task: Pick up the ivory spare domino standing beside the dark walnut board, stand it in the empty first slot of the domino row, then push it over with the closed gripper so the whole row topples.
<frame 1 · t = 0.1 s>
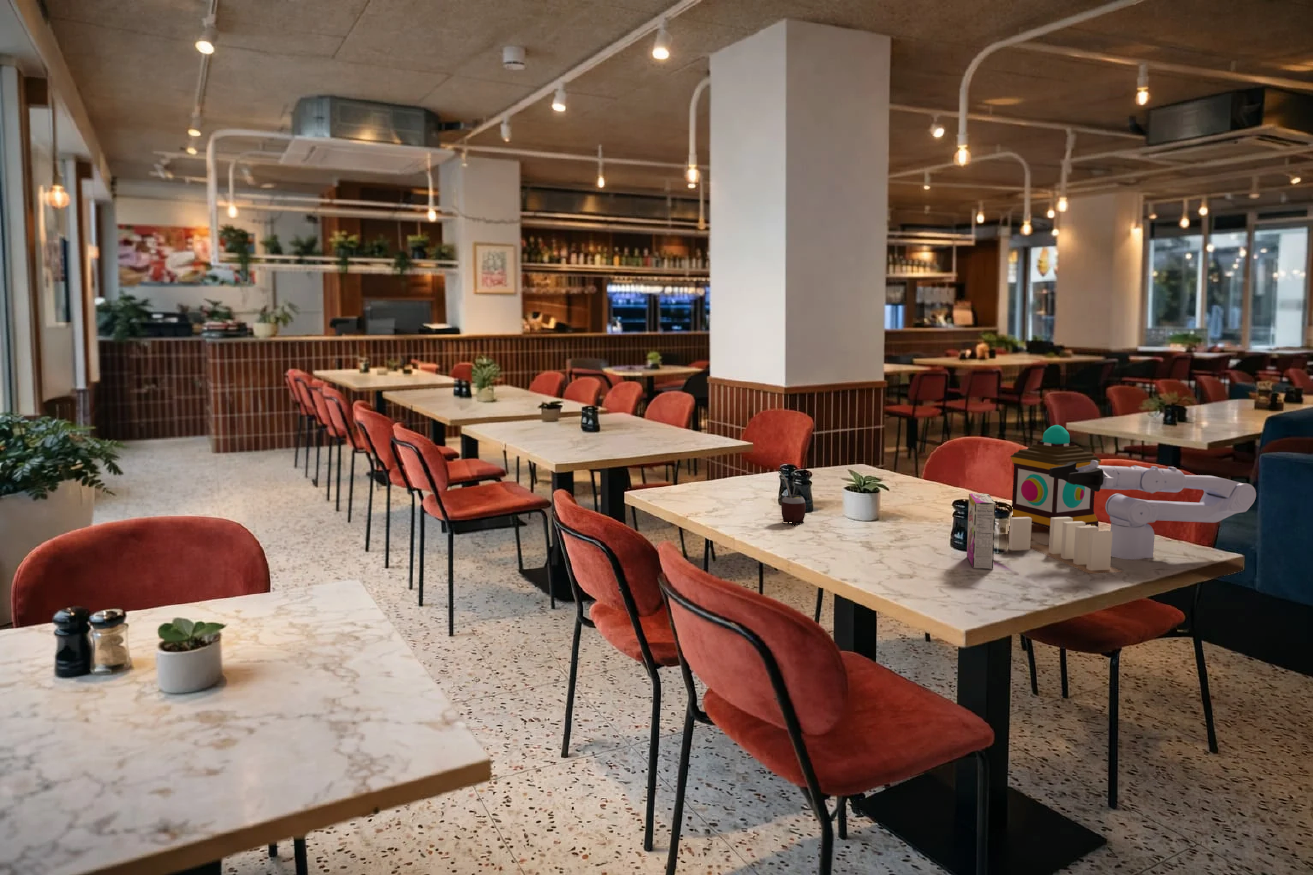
hand: (1059, 475, 215), 22 cm above the table, tool horizontal, fingers open, 7 cm apart
walnut board: (1071, 561, 218), on the table
decorative lantern: (1050, 530, 251), on the table
mate gourd: (791, 523, 260), on the table
domino b: (1059, 552, 223), point 1 cm above the table, touching walnut board
domino c: (1071, 557, 218), point 1 cm above the table, touching walnut board
domino d: (1084, 563, 213), point 1 cm above the table, touching walnut board
spare domino: (1019, 552, 227), on the table
candy bar box: (979, 564, 217), on the table
domino e: (1098, 569, 209), point 1 cm above the table, touching walnut board
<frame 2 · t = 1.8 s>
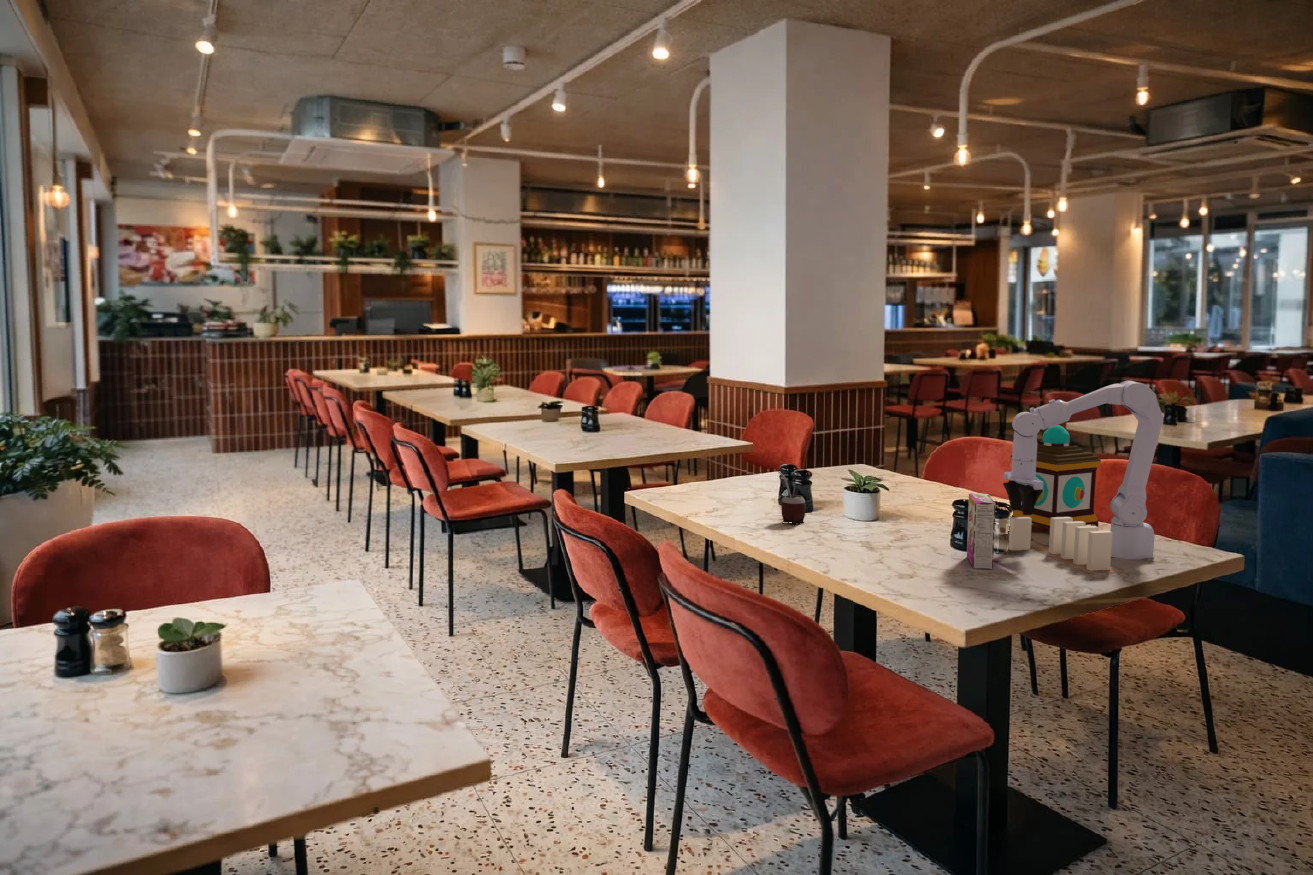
hand: (1021, 512, 226), 10 cm above the table, tool pointing down, fingers open, 5 cm apart
nothing on the table moved.
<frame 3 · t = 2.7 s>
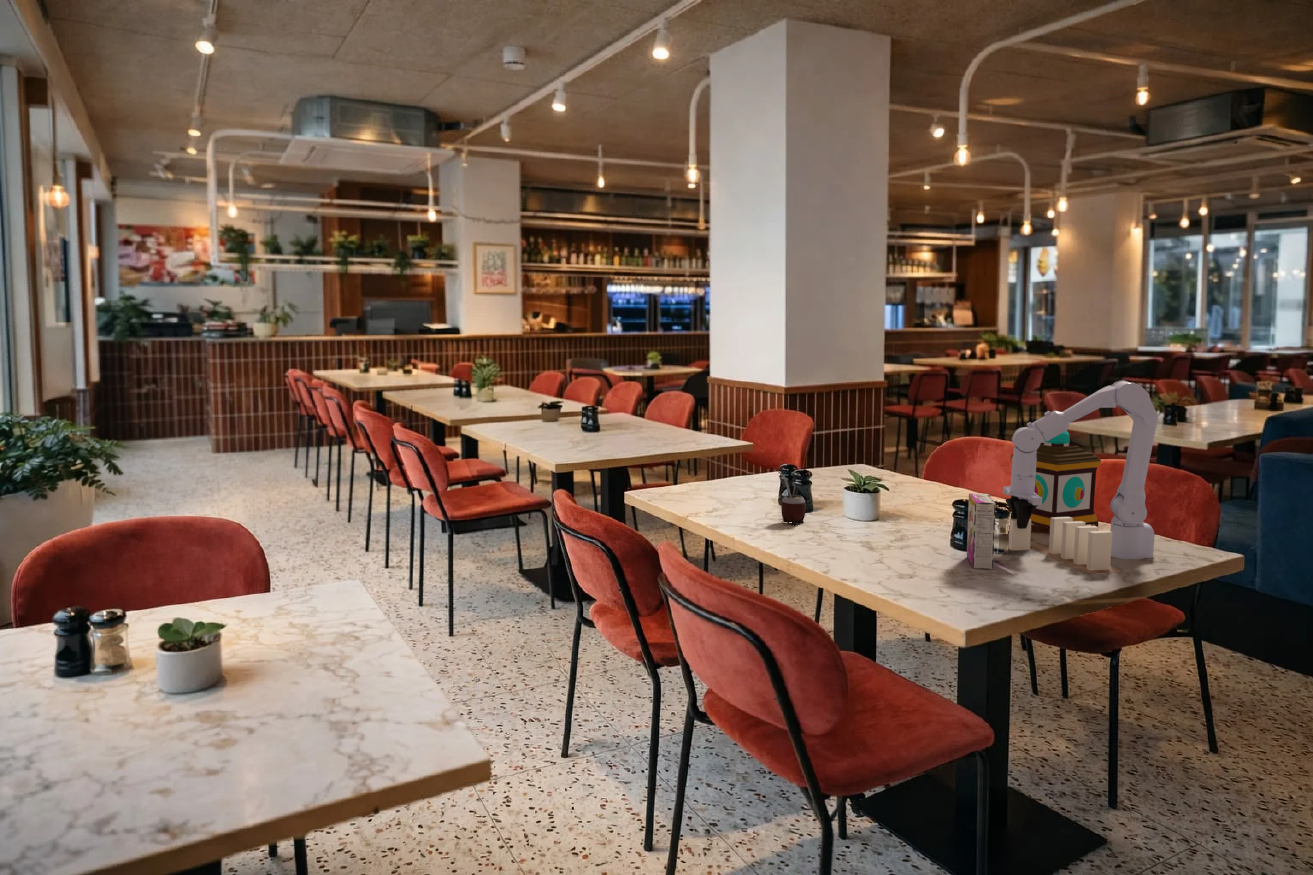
hand: (1019, 527, 226), 6 cm above the table, tool pointing down, fingers closed on spare domino, 1 cm apart
spare domino: (1019, 553, 227), on the table, touching gripper
everything else where it was.
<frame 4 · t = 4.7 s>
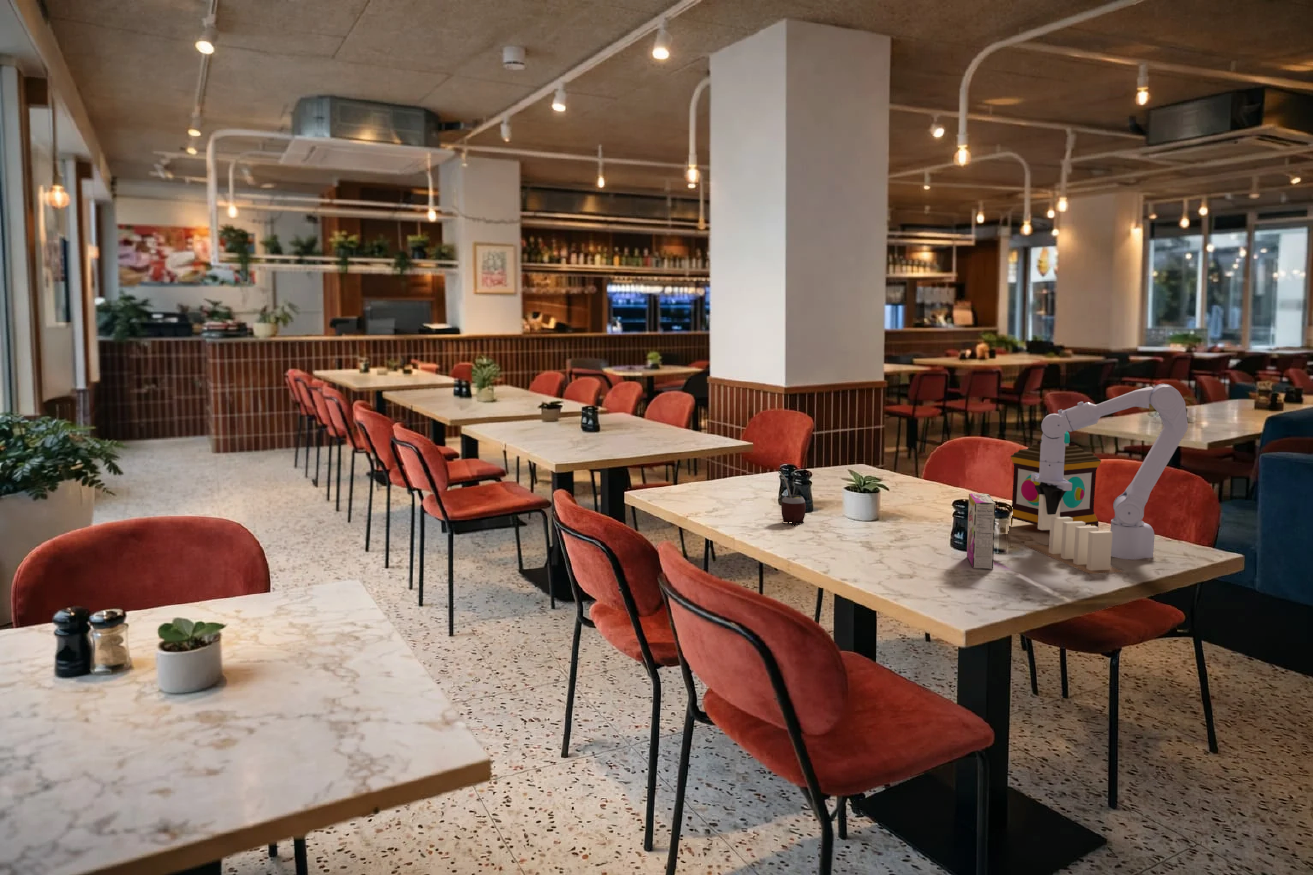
hand: (1049, 513, 227), 10 cm above the table, tool pointing down, fingers closed on spare domino
spare domino: (1048, 528, 227), point 6 cm above the table, touching gripper
everything else where it was.
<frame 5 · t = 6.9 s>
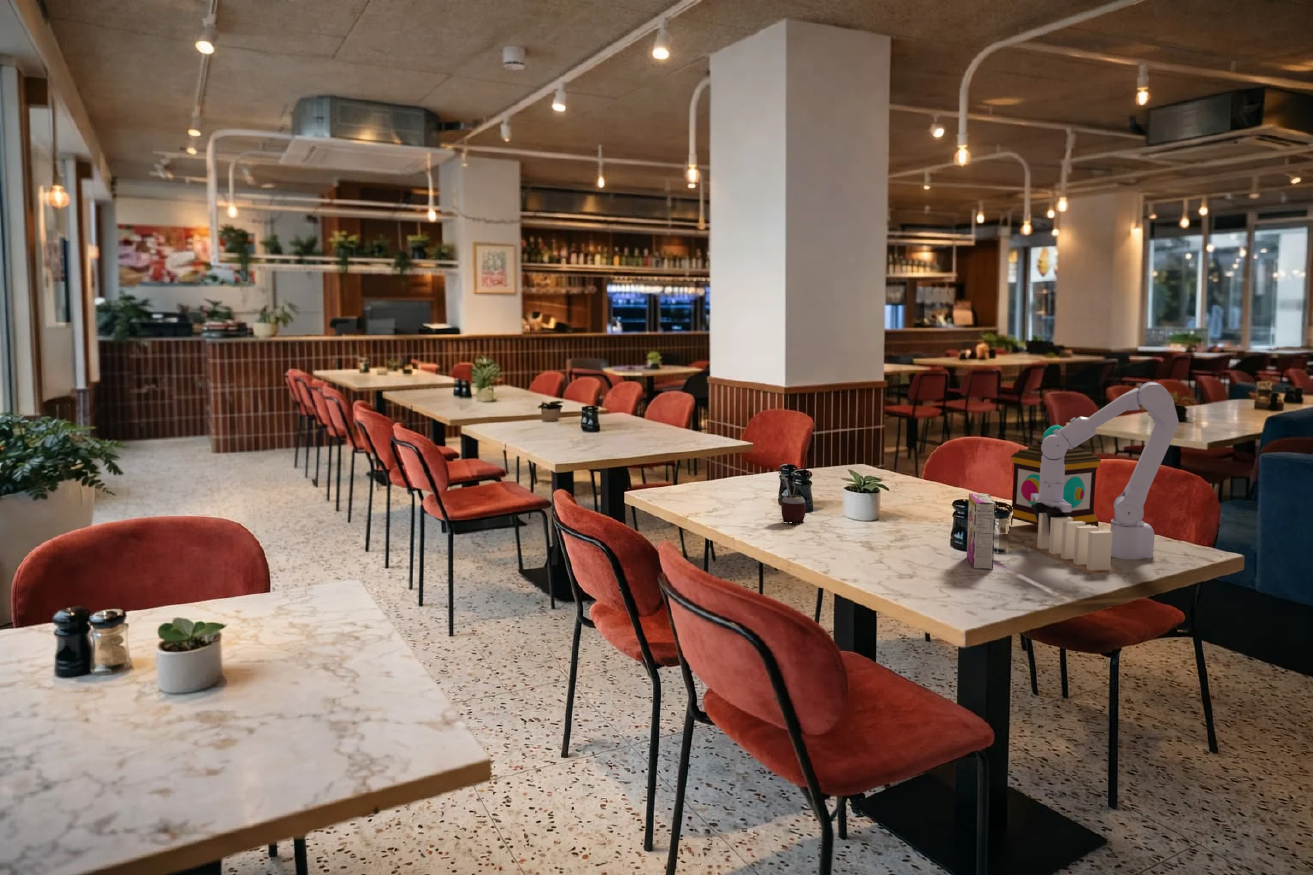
hand: (1048, 534, 228), 4 cm above the table, tool pointing down, fingers open, 4 cm apart
domino b: (1059, 552, 223), point 1 cm above the table, touching gripper, walnut board
spare domino: (1047, 547, 228), point 1 cm above the table, touching walnut board
everything else where it was.
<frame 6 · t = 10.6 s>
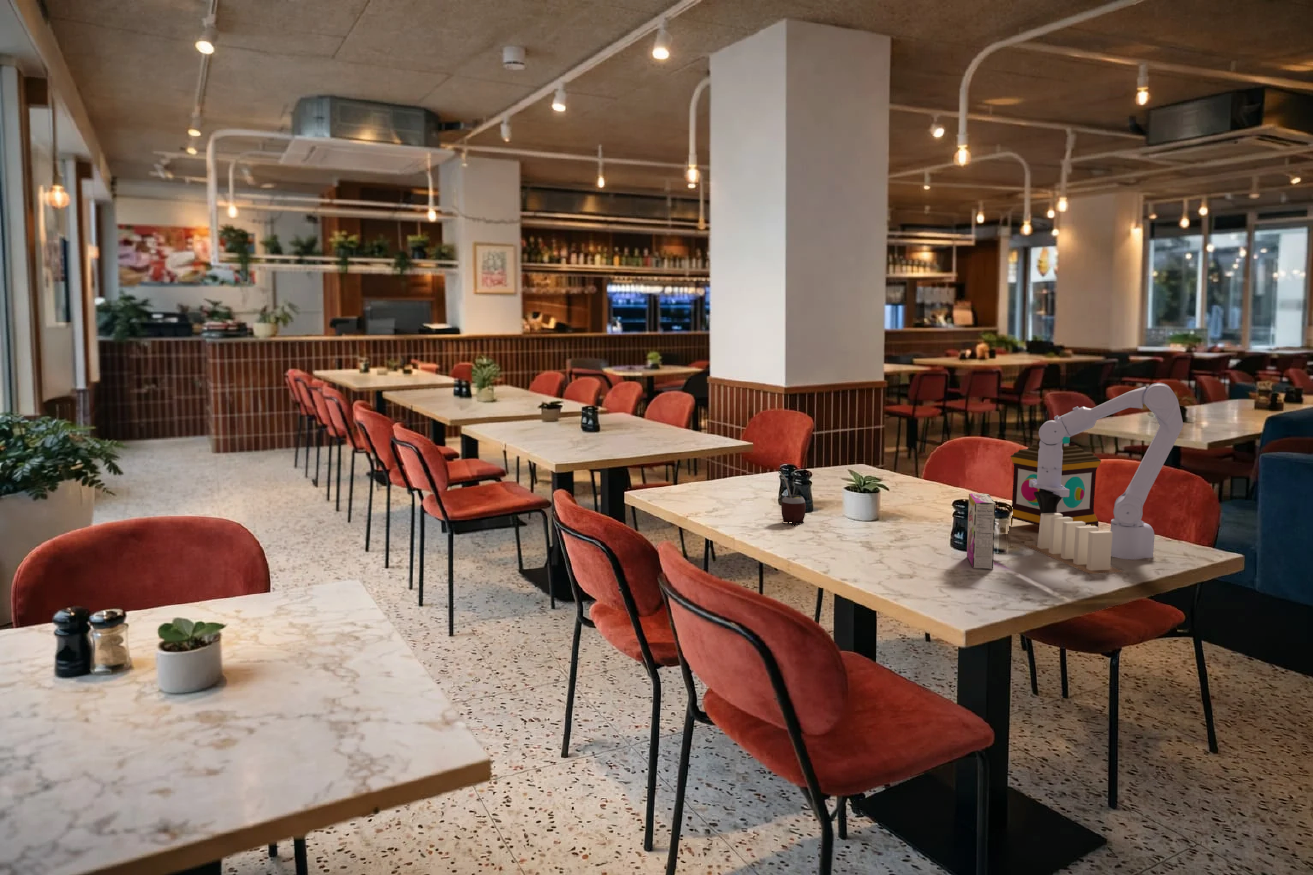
hand: (1046, 519, 228), 8 cm above the table, tool pointing down, fingers closed
domino b: (1059, 552, 223), point 1 cm above the table, touching walnut board
spare domino: (1048, 547, 228), point 1 cm above the table, tilted 5°, touching walnut board
everything else where it was.
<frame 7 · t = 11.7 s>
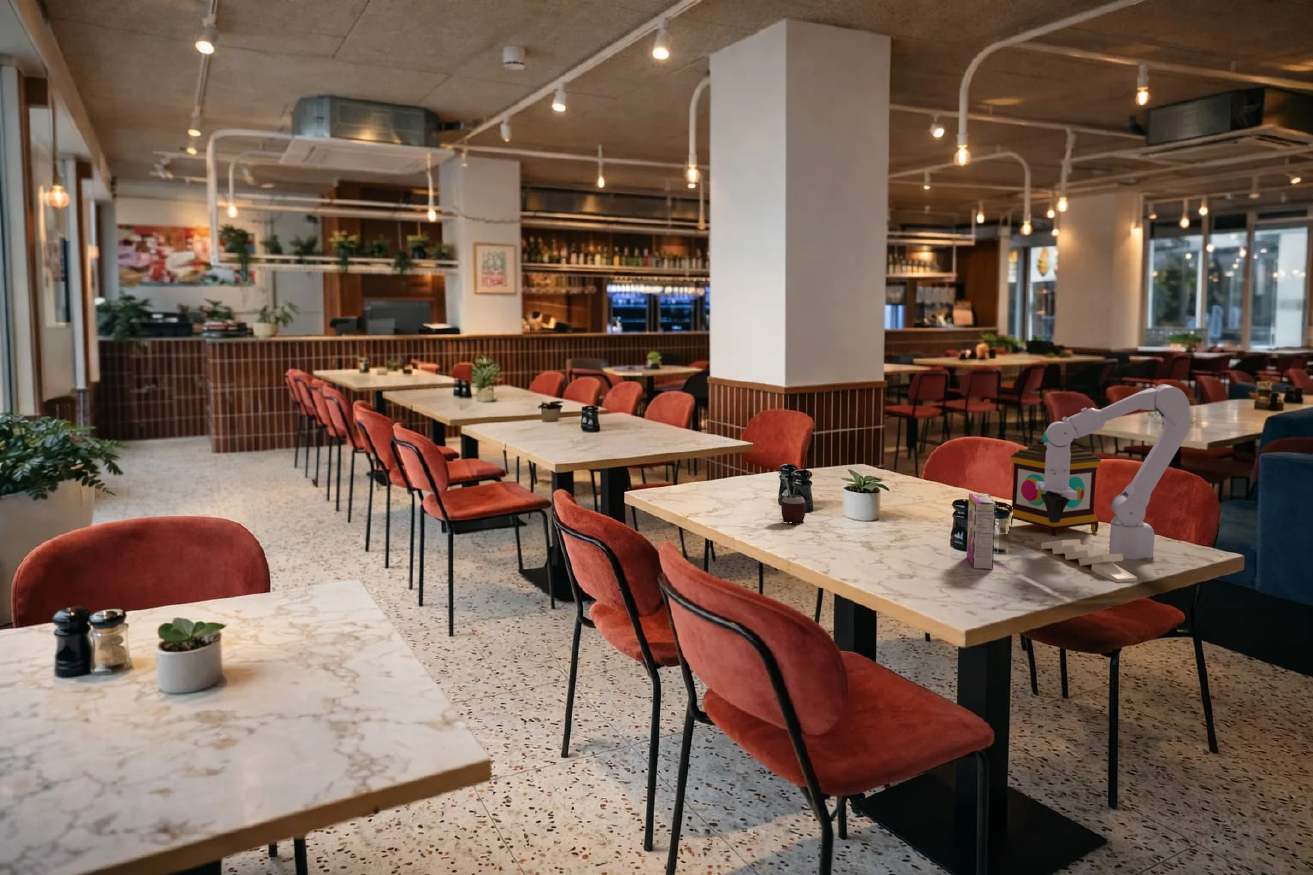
hand: (1054, 522, 225), 8 cm above the table, tool pointing down, fingers closed
domino b: (1061, 550, 222), point 2 cm above the table, tilted 71°, touching domino c, spare domino, walnut board
domino c: (1074, 555, 217), point 2 cm above the table, tilted 71°, touching domino b, domino d, walnut board
domino d: (1088, 562, 212), point 2 cm above the table, tilted 68°, touching domino c, domino e, walnut board
spare domino: (1050, 545, 227), point 2 cm above the table, tilted 71°, touching domino b, walnut board
domino e: (1101, 566, 207), point 2 cm above the table, tilted 97°, touching domino d, walnut board
everything else where it was.
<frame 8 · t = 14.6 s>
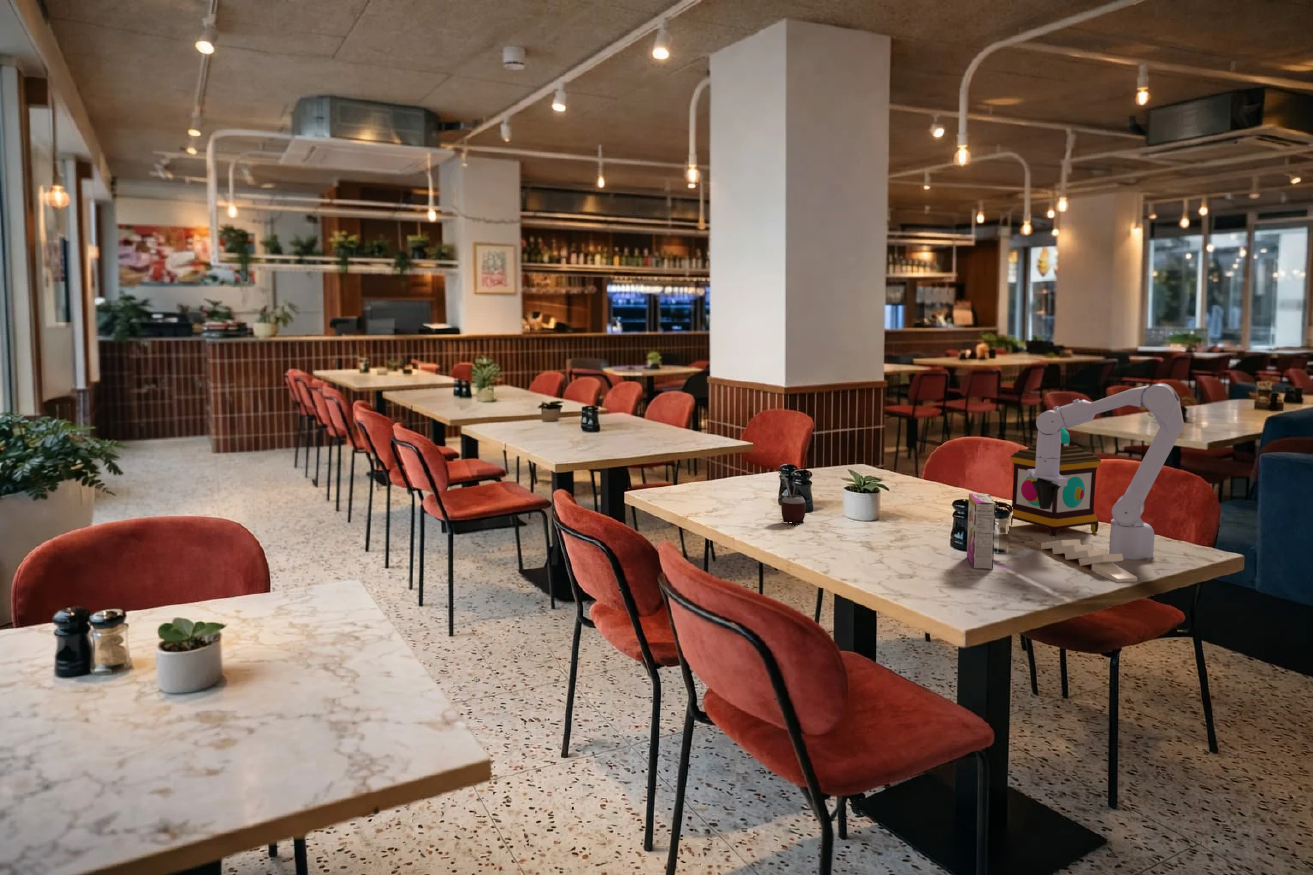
hand: (1045, 508, 230), 10 cm above the table, tool pointing down, fingers closed
nothing on the table moved.
at the end: domino e tilted 97°; domino c tilted 71°; spare domino inside the target area (0.5 cm from its centre), point 1.6 cm above the table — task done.
